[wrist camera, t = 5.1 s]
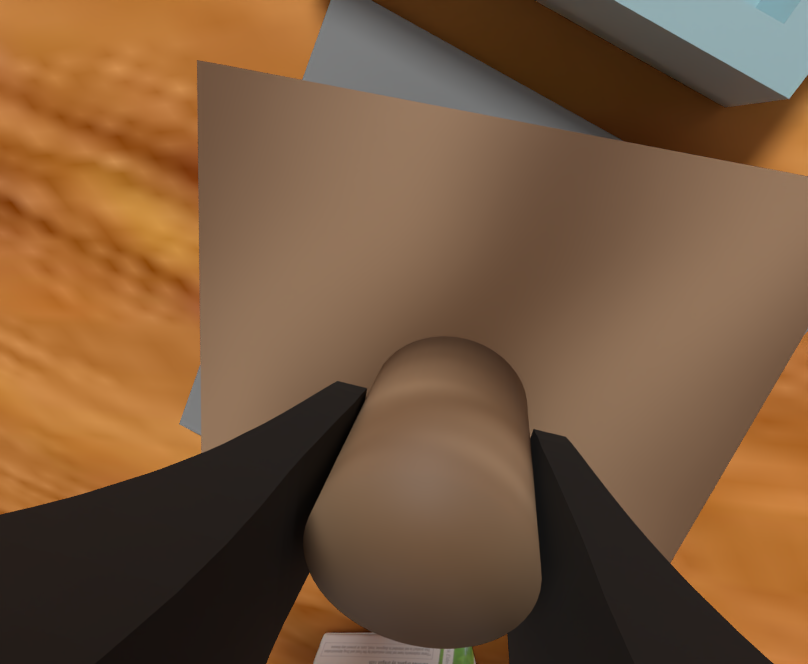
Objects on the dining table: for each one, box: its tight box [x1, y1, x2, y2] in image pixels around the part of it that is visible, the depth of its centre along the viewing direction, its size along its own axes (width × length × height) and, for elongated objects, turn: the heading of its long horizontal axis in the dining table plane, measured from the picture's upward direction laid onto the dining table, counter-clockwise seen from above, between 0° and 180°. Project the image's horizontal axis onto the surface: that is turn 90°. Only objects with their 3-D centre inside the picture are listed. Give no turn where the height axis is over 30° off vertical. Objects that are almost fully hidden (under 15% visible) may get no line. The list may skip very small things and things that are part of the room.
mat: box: [179, 0, 808, 435], centre depth 13 cm, size 13×13×1 cm
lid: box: [197, 60, 808, 649], centre depth 9 cm, size 11×11×5 cm
